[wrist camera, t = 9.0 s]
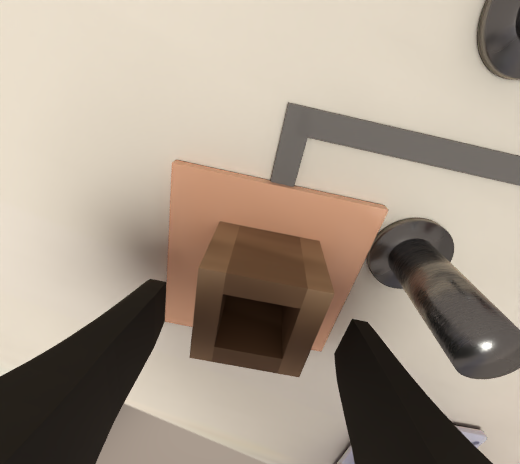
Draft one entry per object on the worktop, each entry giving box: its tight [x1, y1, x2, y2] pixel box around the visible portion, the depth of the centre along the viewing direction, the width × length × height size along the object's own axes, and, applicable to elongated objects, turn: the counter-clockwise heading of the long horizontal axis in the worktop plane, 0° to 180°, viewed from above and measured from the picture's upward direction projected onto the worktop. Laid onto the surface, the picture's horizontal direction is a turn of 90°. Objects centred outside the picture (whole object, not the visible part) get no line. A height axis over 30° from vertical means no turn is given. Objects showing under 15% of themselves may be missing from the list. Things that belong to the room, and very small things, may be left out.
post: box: [367, 218, 520, 379], centre depth 10 cm, size 4×4×6 cm
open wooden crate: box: [190, 221, 335, 377], centre depth 11 cm, size 4×4×4 cm
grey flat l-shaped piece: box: [270, 103, 520, 187], centre depth 11 cm, size 4×12×1 cm, turn 78°
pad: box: [165, 160, 388, 351], centre depth 13 cm, size 9×9×1 cm
